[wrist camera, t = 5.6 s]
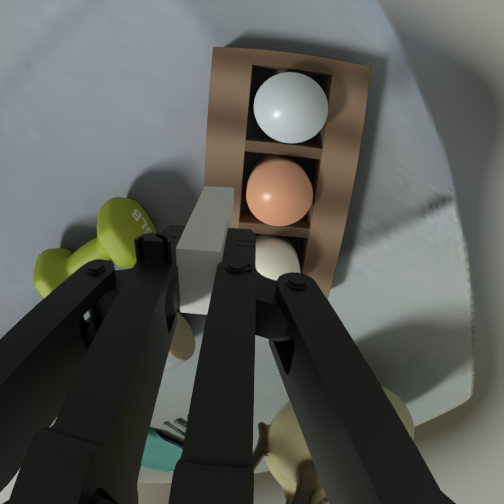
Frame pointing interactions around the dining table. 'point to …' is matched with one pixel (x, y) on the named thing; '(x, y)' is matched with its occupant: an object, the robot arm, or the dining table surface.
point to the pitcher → (301, 453)
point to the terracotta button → (278, 190)
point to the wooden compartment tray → (290, 147)
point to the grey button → (290, 107)
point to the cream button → (275, 256)
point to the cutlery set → (162, 450)
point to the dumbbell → (96, 244)
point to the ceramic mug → (180, 344)
